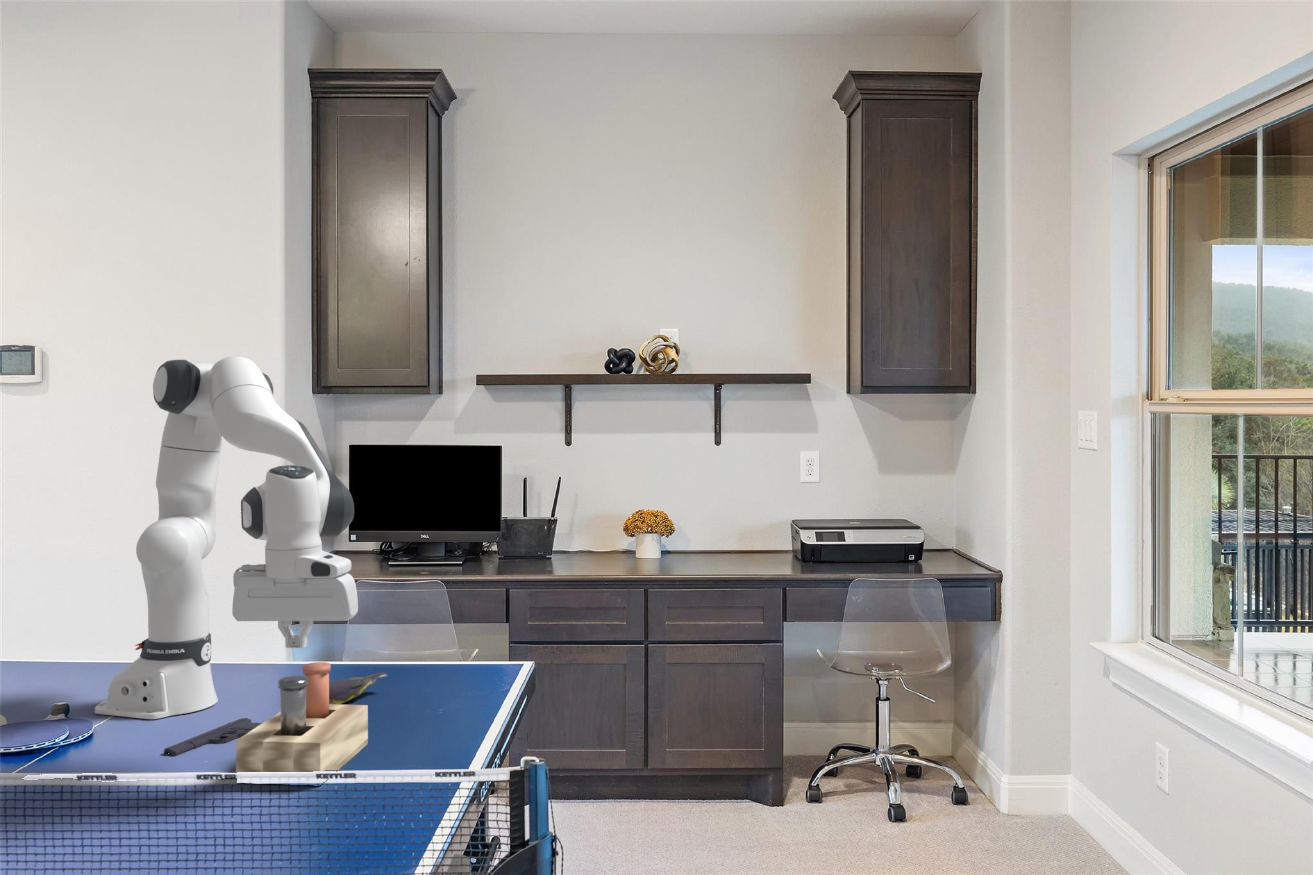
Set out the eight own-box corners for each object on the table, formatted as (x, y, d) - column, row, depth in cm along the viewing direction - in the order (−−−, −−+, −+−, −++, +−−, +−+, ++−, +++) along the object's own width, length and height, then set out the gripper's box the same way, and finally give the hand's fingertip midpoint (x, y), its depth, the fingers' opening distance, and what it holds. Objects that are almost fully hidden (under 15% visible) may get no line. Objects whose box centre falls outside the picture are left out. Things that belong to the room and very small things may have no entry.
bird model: (296, 711, 189) (296, 687, 189) (377, 689, 205) (377, 666, 205) (311, 716, 186) (311, 691, 186) (392, 693, 202) (392, 670, 202)
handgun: (288, 733, 178) (239, 726, 182) (288, 721, 178) (238, 714, 182) (213, 766, 161) (160, 757, 165) (213, 753, 161) (160, 745, 165)
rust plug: (298, 726, 164) (298, 668, 163) (310, 717, 168) (309, 661, 168) (324, 726, 163) (323, 669, 163) (335, 718, 168) (334, 662, 168)
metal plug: (273, 743, 155) (273, 683, 154) (286, 734, 159) (286, 675, 159) (300, 744, 154) (300, 683, 154) (313, 735, 159) (312, 676, 159)
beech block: (236, 783, 152) (235, 740, 152) (293, 741, 172) (292, 703, 172) (320, 786, 151) (320, 742, 151) (367, 743, 171) (367, 705, 171)
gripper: (223, 567, 154) (225, 651, 154) (345, 566, 153) (348, 651, 153) (242, 561, 160) (245, 642, 161) (360, 560, 159) (362, 642, 159)
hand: (296, 647), depth 157 cm, fingers closed
